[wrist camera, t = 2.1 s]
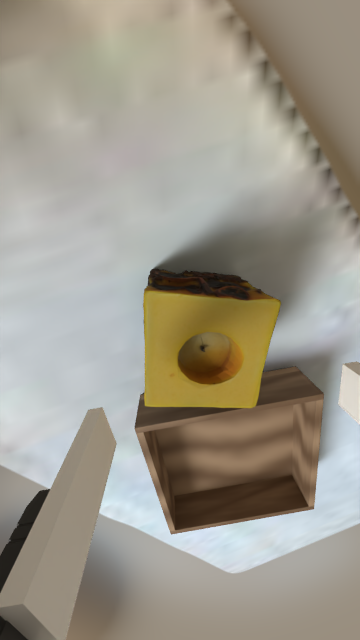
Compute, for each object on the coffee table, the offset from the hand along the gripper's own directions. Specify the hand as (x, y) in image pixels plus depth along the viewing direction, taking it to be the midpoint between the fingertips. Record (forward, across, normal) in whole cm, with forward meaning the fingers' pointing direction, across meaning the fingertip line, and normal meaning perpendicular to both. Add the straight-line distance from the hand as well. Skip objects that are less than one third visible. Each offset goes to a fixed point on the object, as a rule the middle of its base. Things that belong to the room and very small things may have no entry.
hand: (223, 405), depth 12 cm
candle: (+15, 0, 0) cm, 15 cm away
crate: (+15, +2, -21) cm, 25 cm away
